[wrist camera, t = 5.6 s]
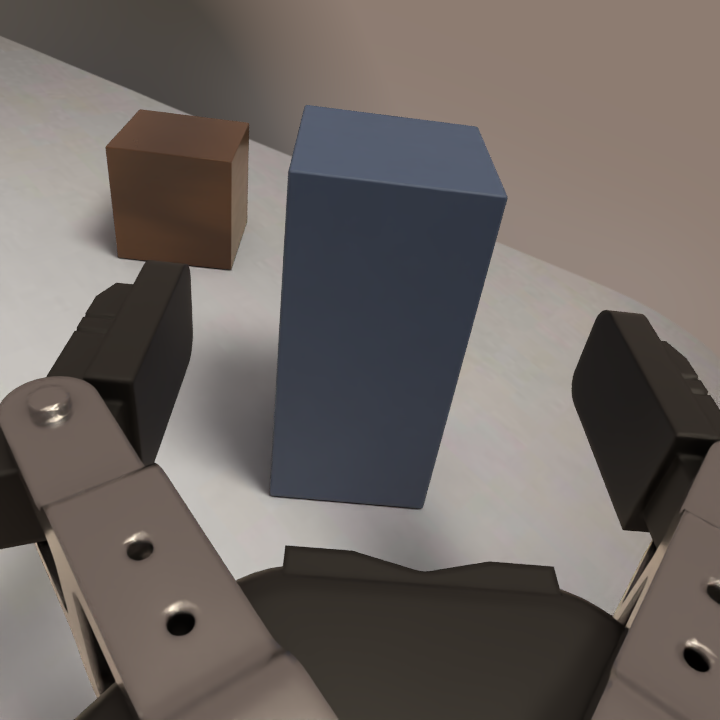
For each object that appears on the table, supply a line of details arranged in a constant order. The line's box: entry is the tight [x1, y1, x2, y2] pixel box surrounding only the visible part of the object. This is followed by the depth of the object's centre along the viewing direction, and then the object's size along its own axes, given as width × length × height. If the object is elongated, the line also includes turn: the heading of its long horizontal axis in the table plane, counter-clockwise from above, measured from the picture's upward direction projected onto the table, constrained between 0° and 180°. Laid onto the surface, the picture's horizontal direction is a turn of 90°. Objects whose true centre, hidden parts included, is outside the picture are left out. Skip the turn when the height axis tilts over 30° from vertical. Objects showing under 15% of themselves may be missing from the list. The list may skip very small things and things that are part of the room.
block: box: [106, 109, 249, 270], centre depth 30 cm, size 5×5×5 cm
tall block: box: [270, 105, 507, 509], centre depth 18 cm, size 5×5×10 cm
